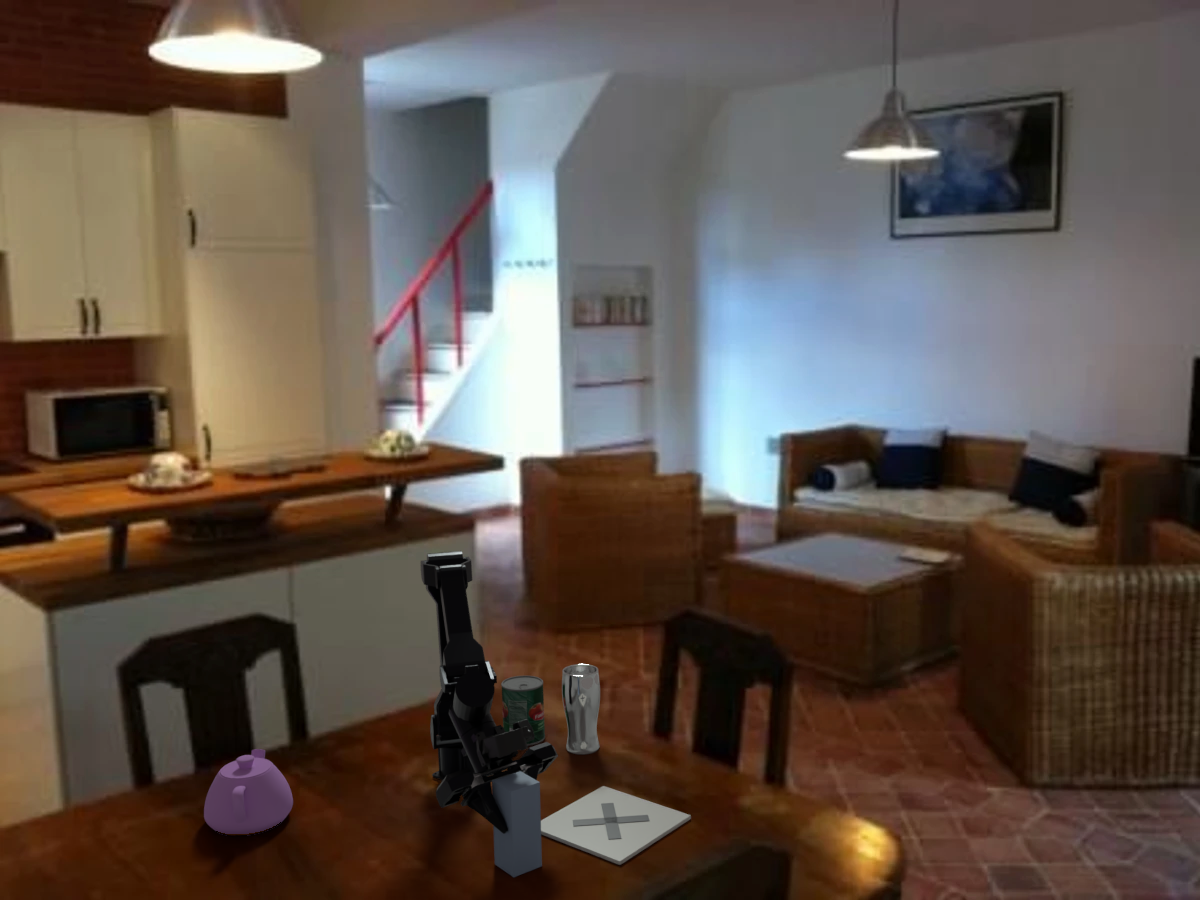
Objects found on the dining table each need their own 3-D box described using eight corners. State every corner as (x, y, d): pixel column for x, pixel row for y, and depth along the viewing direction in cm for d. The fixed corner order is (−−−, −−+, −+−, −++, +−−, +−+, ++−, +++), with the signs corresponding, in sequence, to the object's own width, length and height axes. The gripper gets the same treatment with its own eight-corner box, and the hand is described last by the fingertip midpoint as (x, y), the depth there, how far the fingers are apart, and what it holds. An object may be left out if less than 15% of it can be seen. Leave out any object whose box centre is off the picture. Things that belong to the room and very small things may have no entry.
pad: (530, 830, 176) (530, 825, 176) (603, 789, 189) (603, 785, 189) (619, 865, 164) (619, 860, 164) (690, 818, 178) (690, 814, 178)
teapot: (302, 787, 194) (298, 728, 192) (285, 843, 174) (280, 778, 172) (219, 794, 192) (214, 734, 190) (193, 851, 172) (187, 785, 171)
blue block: (494, 864, 166) (492, 780, 164) (522, 853, 169) (520, 771, 167) (513, 877, 162) (511, 791, 160) (541, 866, 165) (539, 782, 163)
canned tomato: (500, 732, 215) (498, 677, 213) (540, 728, 217) (538, 673, 215) (507, 748, 207) (504, 691, 206) (548, 743, 209) (546, 687, 208)
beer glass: (597, 756, 203) (595, 677, 200) (560, 754, 204) (557, 675, 202) (605, 741, 209) (602, 664, 207) (568, 739, 211) (566, 662, 209)
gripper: (441, 722, 159) (487, 823, 152) (548, 690, 171) (595, 783, 163) (417, 758, 166) (459, 856, 159) (521, 725, 178) (565, 815, 171)
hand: (521, 826), depth 163 cm, fingers closed on blue block, 5 cm apart
